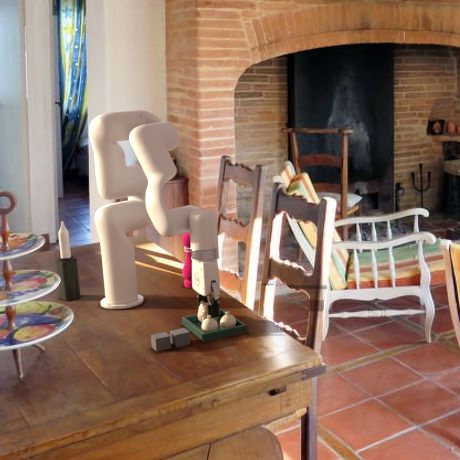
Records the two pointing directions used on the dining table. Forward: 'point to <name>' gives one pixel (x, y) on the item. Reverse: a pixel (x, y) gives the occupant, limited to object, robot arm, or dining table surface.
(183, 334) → the grey block
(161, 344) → the grey block
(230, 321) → the white bulb
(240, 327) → the green tray
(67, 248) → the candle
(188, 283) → the pepper mill
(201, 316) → the garlic bulb
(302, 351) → the dining table surface
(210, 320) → the white bulb
